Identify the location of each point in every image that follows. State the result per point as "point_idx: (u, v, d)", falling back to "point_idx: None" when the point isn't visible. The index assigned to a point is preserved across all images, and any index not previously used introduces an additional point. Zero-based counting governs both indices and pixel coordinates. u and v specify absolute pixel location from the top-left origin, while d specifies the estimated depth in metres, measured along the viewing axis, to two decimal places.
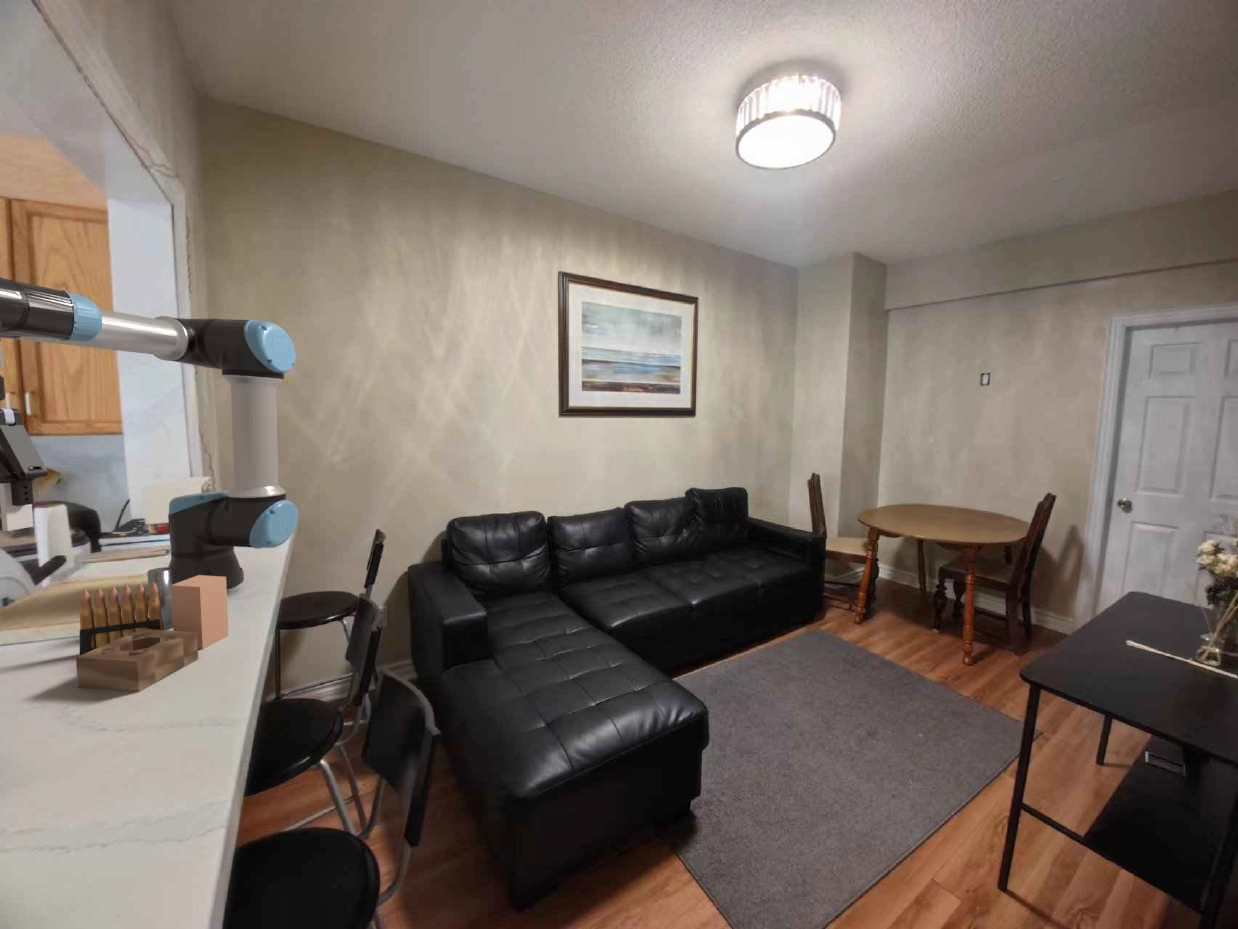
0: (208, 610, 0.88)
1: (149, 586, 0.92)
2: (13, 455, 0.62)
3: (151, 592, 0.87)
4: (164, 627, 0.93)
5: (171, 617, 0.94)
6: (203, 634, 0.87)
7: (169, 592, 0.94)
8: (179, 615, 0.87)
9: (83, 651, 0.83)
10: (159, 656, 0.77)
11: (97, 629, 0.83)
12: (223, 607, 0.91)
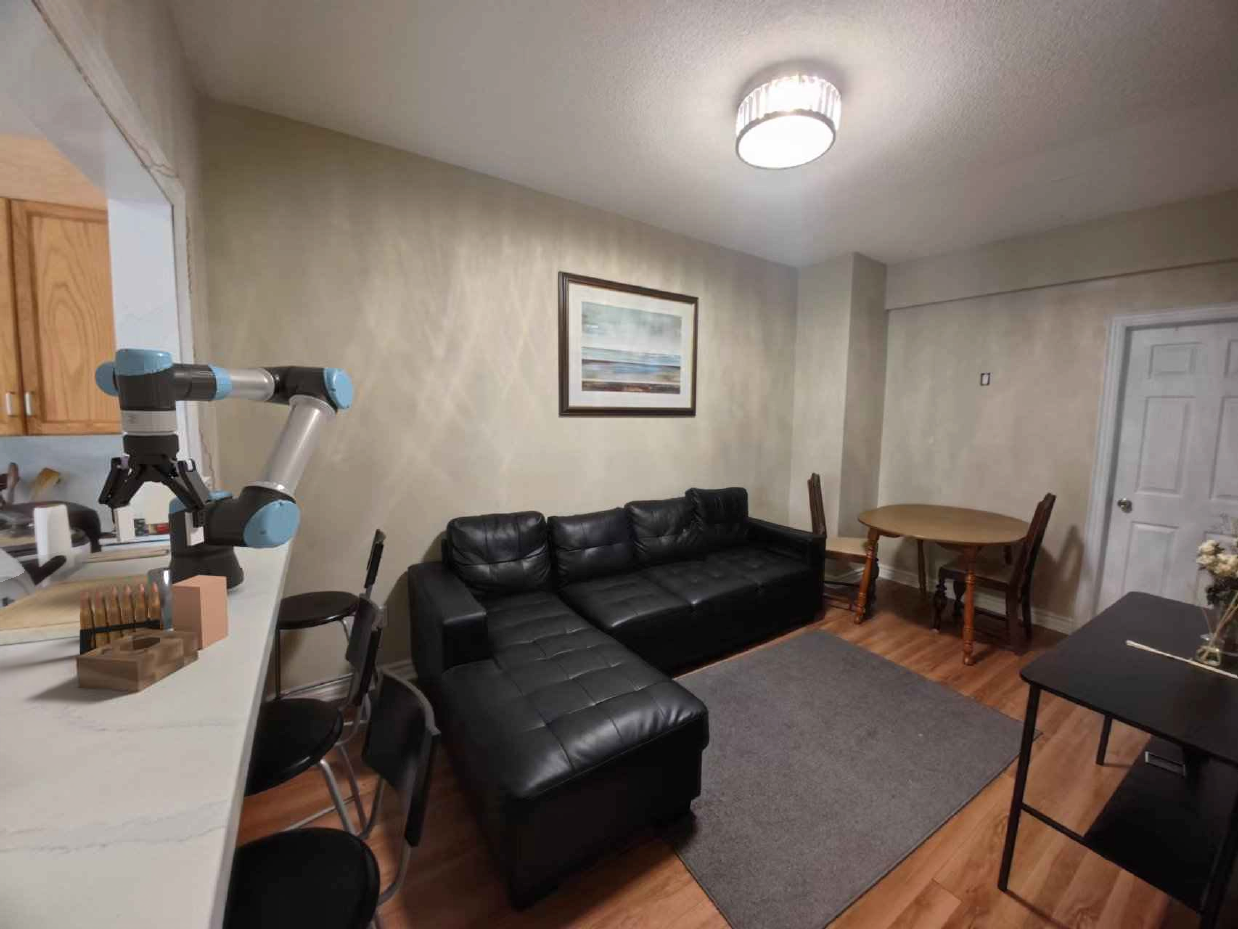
0: (208, 610, 0.88)
1: (149, 586, 0.92)
2: (195, 493, 0.89)
3: (151, 592, 0.87)
4: (164, 627, 0.93)
5: (171, 617, 0.94)
6: (203, 634, 0.87)
7: (169, 592, 0.94)
8: (179, 615, 0.87)
9: (83, 651, 0.83)
10: (159, 656, 0.77)
11: (97, 629, 0.83)
12: (223, 607, 0.91)
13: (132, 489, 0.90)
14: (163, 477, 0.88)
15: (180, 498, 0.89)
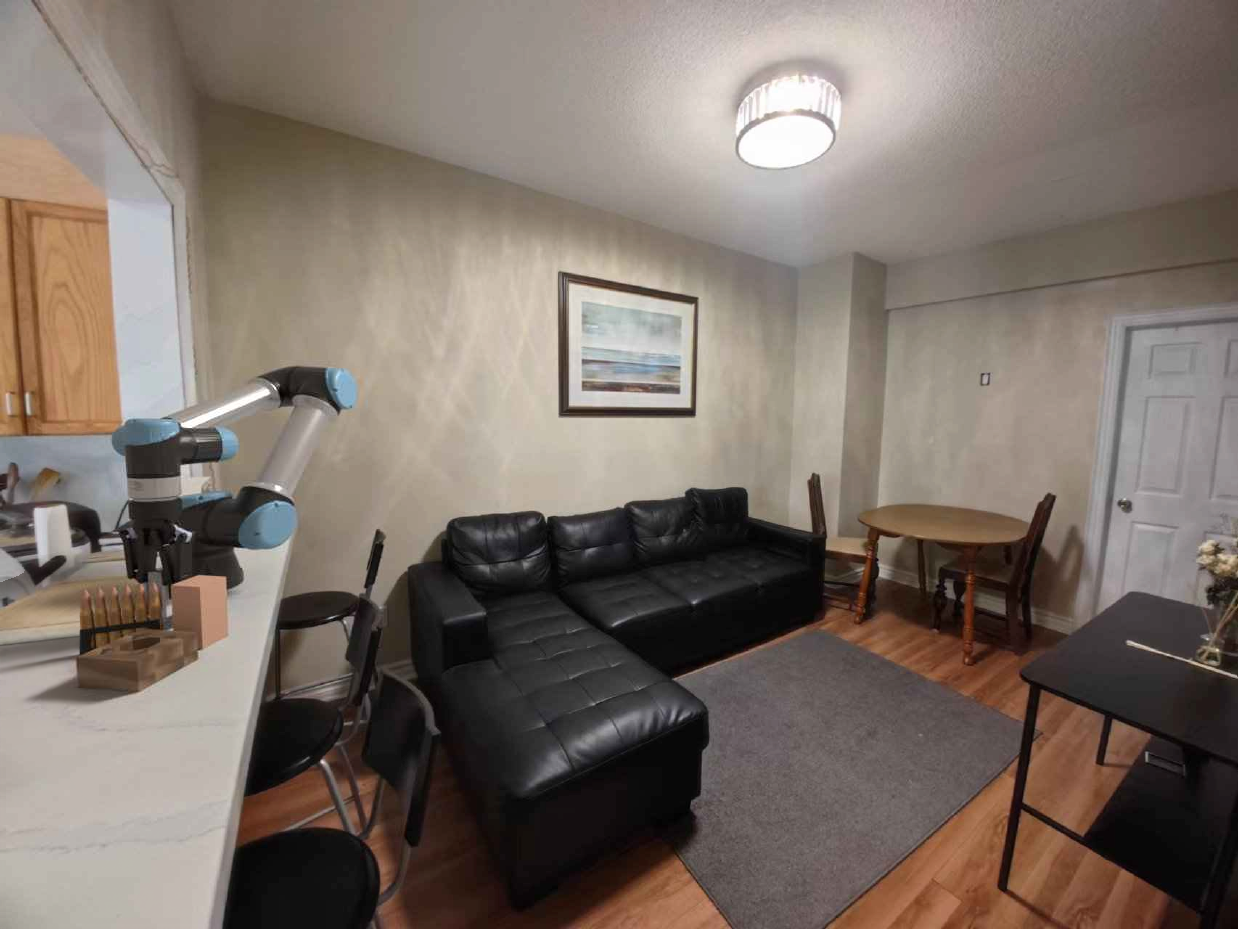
0: (208, 610, 0.88)
1: (149, 586, 0.92)
2: (179, 566, 0.92)
3: (151, 592, 0.87)
4: (164, 627, 0.93)
5: (171, 617, 0.94)
6: (203, 634, 0.87)
7: None
8: (179, 615, 0.87)
9: (83, 651, 0.83)
10: (159, 656, 0.77)
11: (97, 629, 0.83)
12: (223, 607, 0.91)
13: (150, 557, 0.93)
14: (159, 545, 0.91)
15: (163, 568, 0.92)
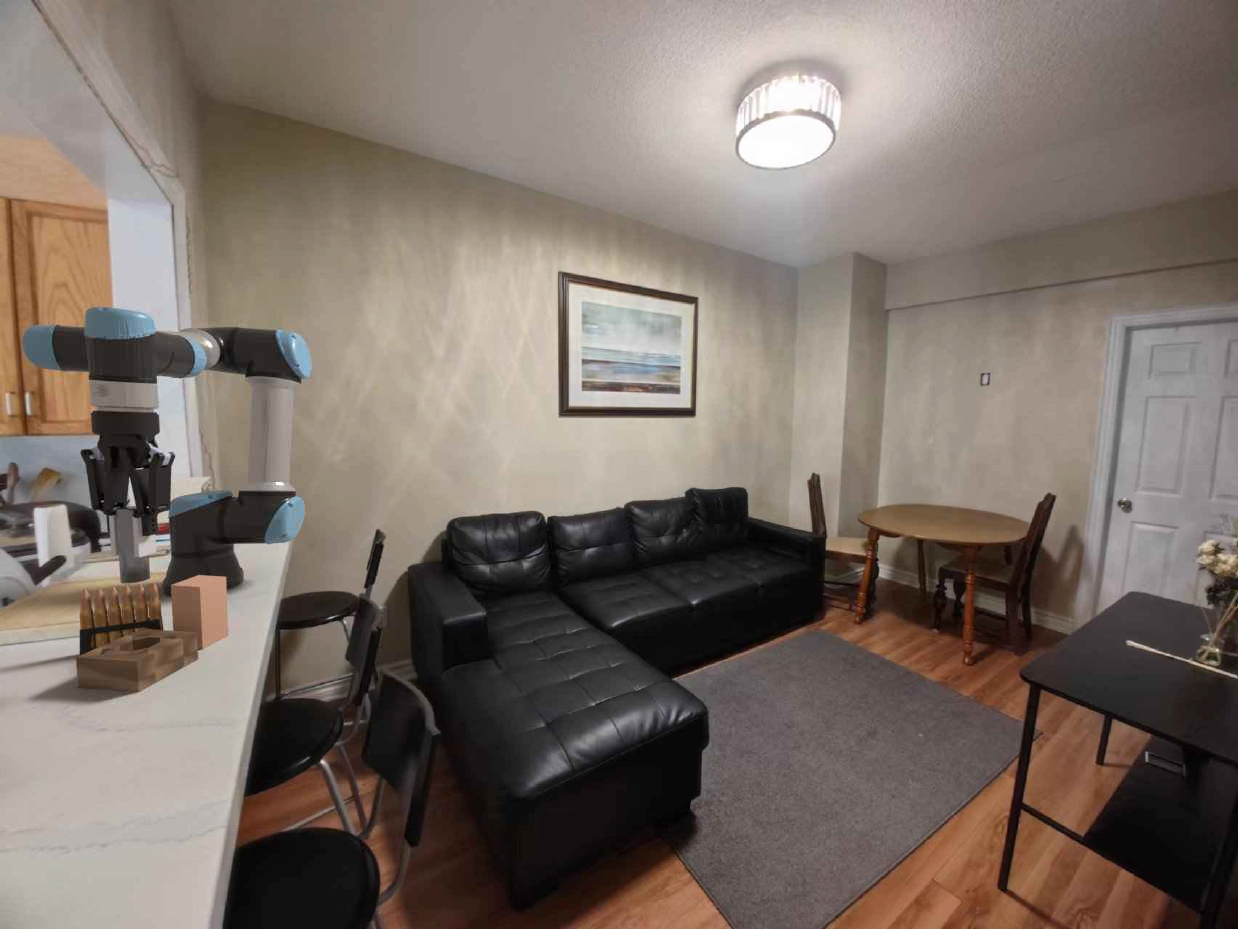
0: (208, 610, 0.88)
1: (118, 527, 0.75)
2: (154, 494, 0.75)
3: (151, 592, 0.87)
4: (137, 578, 0.76)
5: (146, 566, 0.77)
6: (203, 634, 0.87)
7: None
8: (179, 615, 0.87)
9: (83, 651, 0.83)
10: (159, 656, 0.77)
11: (97, 629, 0.83)
12: (223, 607, 0.91)
13: (120, 484, 0.76)
14: (130, 467, 0.74)
15: (135, 496, 0.75)
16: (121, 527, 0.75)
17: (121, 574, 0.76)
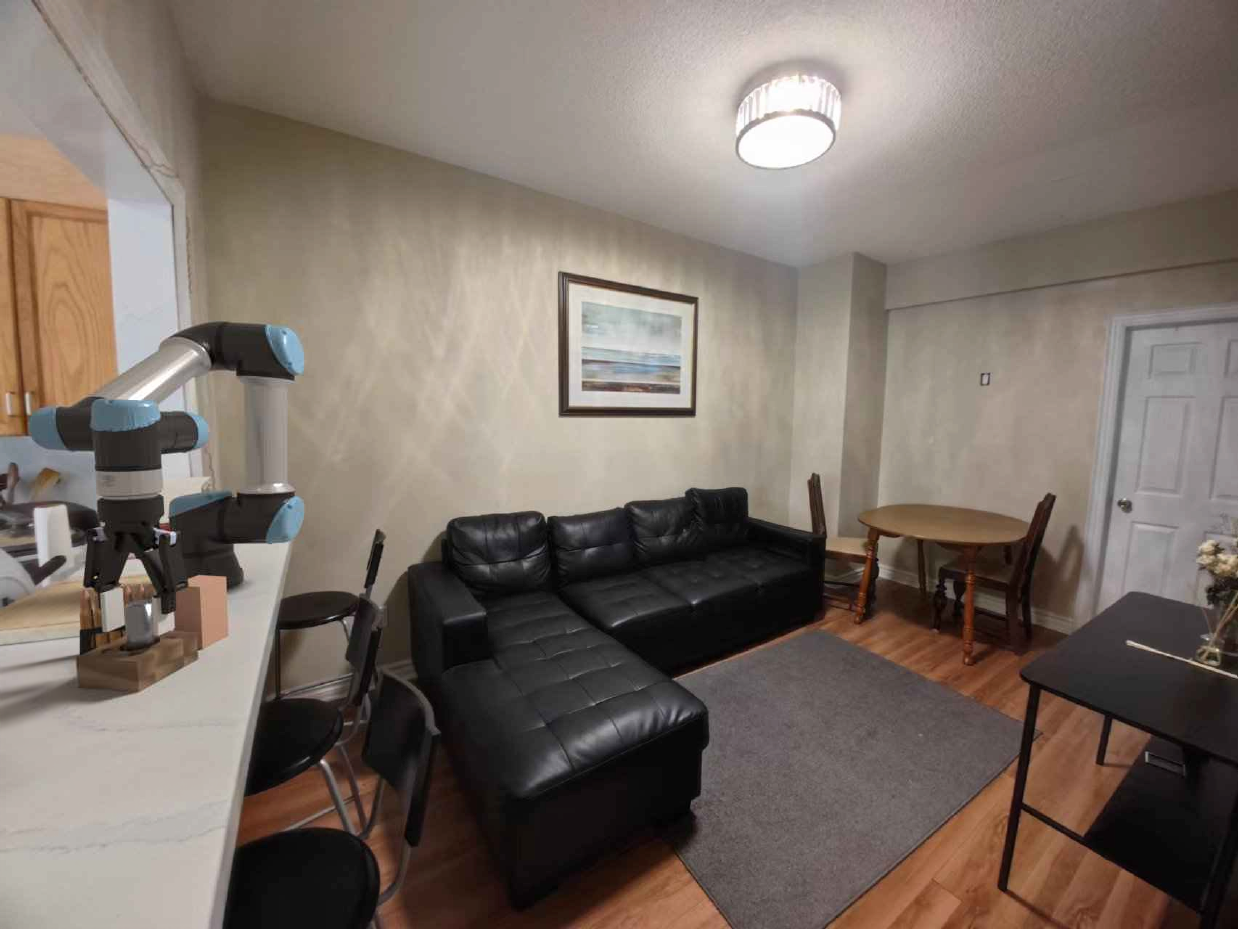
0: (208, 610, 0.88)
1: (126, 623, 0.77)
2: (169, 574, 0.76)
3: (151, 592, 0.87)
4: None
5: None
6: (203, 634, 0.87)
7: (150, 631, 0.78)
8: (179, 615, 0.87)
9: (83, 651, 0.83)
10: (159, 656, 0.77)
11: (97, 629, 0.83)
12: (223, 607, 0.91)
13: (117, 565, 0.77)
14: (139, 551, 0.75)
15: (151, 578, 0.76)
16: (130, 624, 0.76)
17: None
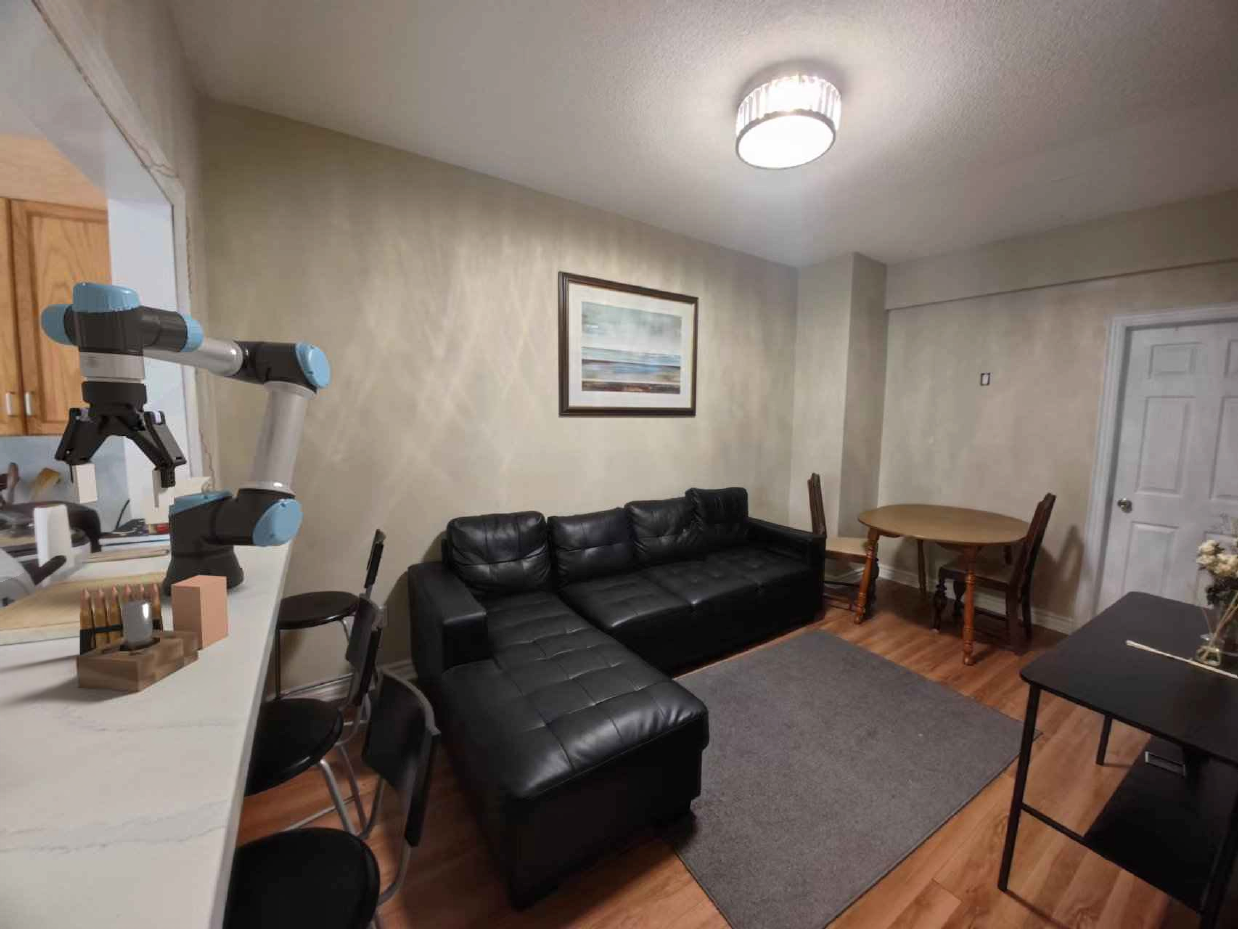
0: (208, 610, 0.88)
1: (124, 624, 0.77)
2: (164, 448, 0.80)
3: (151, 592, 0.87)
4: None
5: None
6: (203, 634, 0.87)
7: (148, 630, 0.78)
8: (179, 615, 0.87)
9: (83, 651, 0.83)
10: (159, 656, 0.77)
11: (97, 629, 0.83)
12: (223, 607, 0.91)
13: (94, 444, 0.81)
14: (127, 430, 0.79)
15: (147, 454, 0.80)
16: (128, 625, 0.76)
17: None
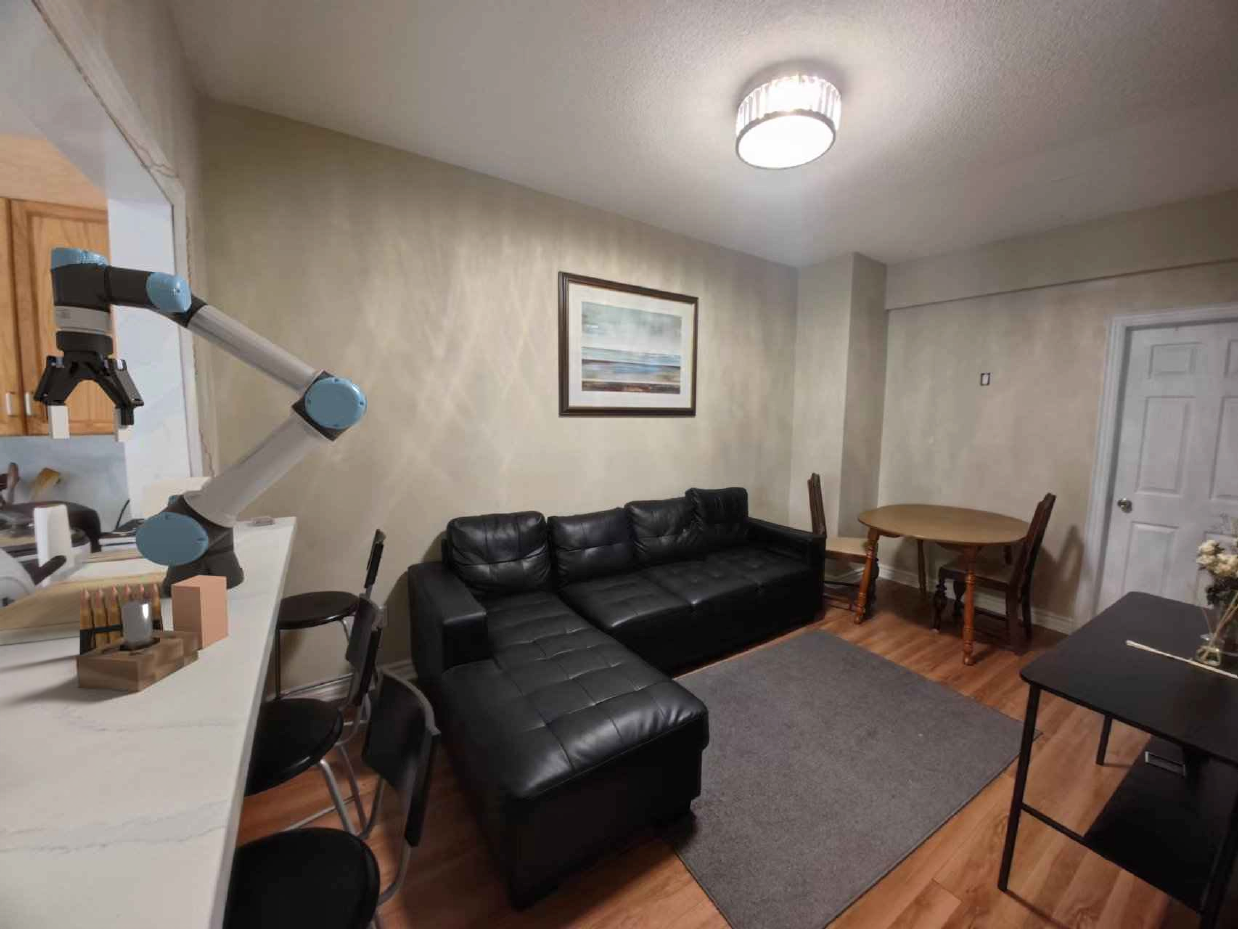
0: (208, 610, 0.88)
1: (124, 624, 0.77)
2: (123, 390, 0.93)
3: (151, 592, 0.87)
4: None
5: None
6: (203, 634, 0.87)
7: (148, 630, 0.78)
8: (179, 615, 0.87)
9: (83, 651, 0.83)
10: (159, 656, 0.77)
11: (97, 629, 0.83)
12: (223, 607, 0.91)
13: (66, 388, 0.94)
14: (93, 374, 0.92)
15: (109, 395, 0.93)
16: (127, 625, 0.76)
17: None
